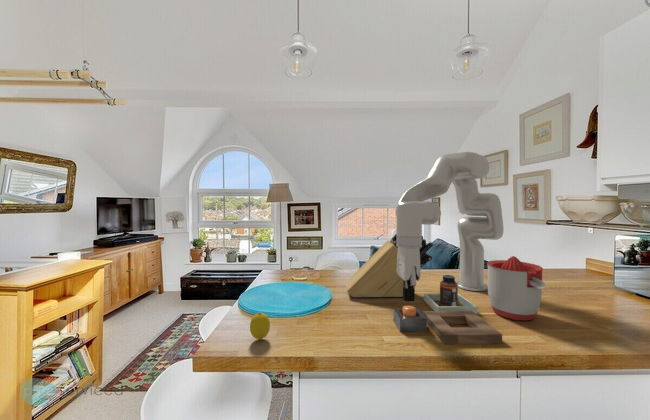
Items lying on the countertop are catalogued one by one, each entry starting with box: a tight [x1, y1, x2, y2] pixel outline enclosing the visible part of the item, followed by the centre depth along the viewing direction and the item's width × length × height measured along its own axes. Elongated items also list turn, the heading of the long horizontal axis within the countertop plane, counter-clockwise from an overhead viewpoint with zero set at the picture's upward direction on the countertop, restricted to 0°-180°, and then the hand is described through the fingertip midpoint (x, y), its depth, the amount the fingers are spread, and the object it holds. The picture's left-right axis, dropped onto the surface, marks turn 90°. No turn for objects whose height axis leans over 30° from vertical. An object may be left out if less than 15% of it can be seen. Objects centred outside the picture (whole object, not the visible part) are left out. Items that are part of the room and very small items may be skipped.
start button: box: [402, 305, 417, 317], centre depth 85 cm, size 4×4×4 cm
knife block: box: [345, 233, 434, 298], centre depth 114 cm, size 11×35×31 cm, turn 89°
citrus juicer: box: [486, 255, 547, 321], centre depth 92 cm, size 16×17×20 cm
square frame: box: [422, 310, 503, 345], centre depth 82 cm, size 16×16×2 cm
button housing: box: [392, 307, 428, 333], centre depth 85 cm, size 8×8×4 cm
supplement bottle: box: [439, 274, 459, 306], centre depth 100 cm, size 6×6×11 cm
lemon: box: [249, 311, 271, 341], centre depth 78 cm, size 6×6×8 cm
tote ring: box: [423, 292, 478, 315], centre depth 100 cm, size 14×14×2 cm
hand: (408, 300), depth 85 cm, fingers closed
